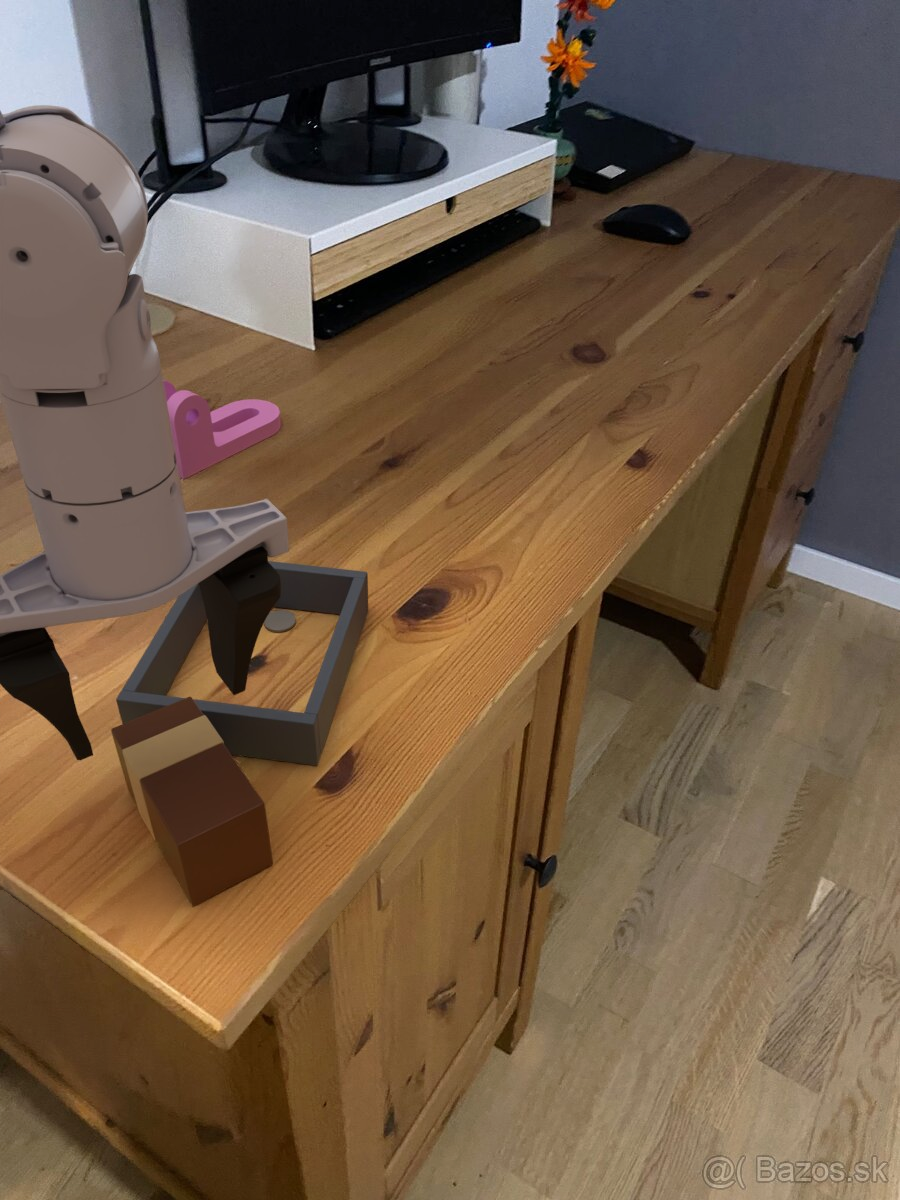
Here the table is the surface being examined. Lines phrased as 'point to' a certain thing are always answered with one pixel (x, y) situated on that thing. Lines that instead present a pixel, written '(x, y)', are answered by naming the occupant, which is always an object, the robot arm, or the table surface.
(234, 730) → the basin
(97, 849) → the table surface
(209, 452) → the bracket
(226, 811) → the brown tan banded block
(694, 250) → the table surface
